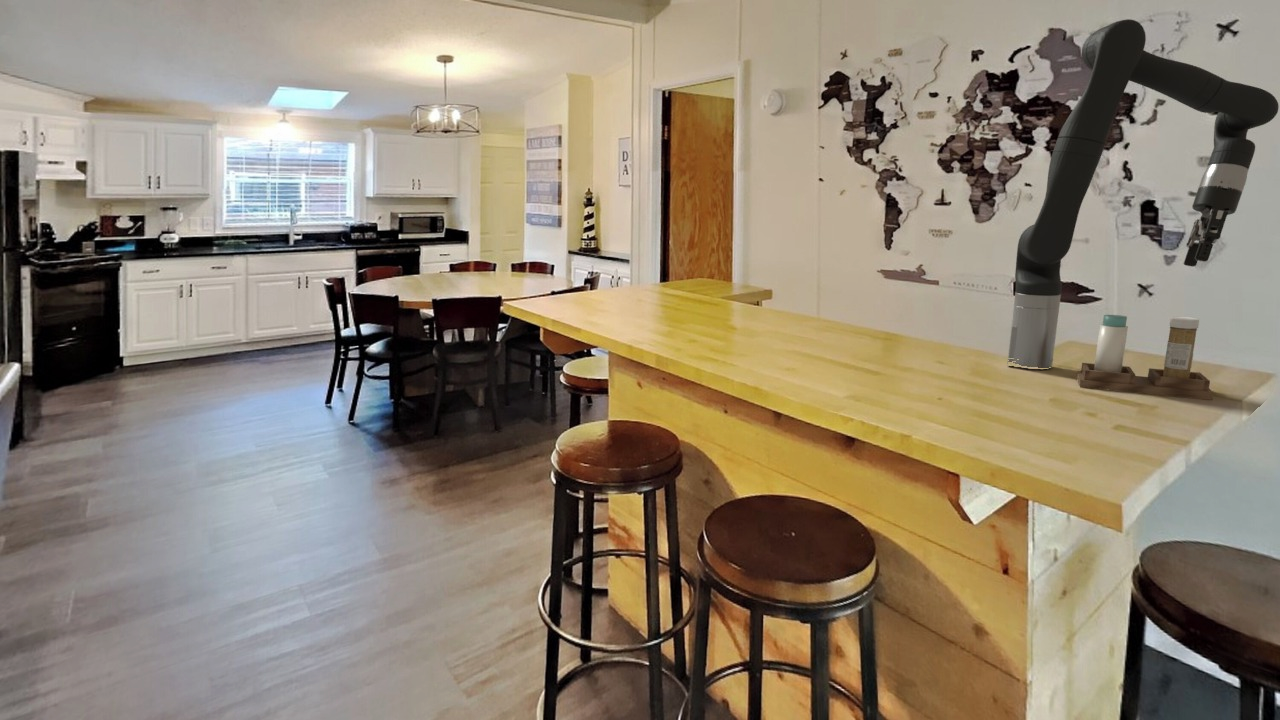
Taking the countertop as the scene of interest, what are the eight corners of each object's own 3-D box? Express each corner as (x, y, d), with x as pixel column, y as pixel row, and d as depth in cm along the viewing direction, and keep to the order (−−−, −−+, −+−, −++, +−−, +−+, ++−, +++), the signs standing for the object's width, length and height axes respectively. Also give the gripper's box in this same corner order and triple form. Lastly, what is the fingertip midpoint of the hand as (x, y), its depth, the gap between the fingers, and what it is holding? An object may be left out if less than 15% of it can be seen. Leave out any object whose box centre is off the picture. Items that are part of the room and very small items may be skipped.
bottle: (1094, 378, 147) (1102, 316, 144) (1092, 373, 151) (1100, 313, 148) (1121, 380, 145) (1130, 318, 142) (1118, 376, 149) (1127, 315, 146)
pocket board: (1079, 387, 146) (1081, 370, 145) (1076, 377, 155) (1078, 361, 154) (1212, 400, 136) (1215, 382, 135) (1200, 388, 145) (1203, 372, 144)
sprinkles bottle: (1192, 383, 142) (1203, 318, 139) (1183, 386, 140) (1194, 320, 137) (1166, 379, 146) (1176, 315, 143) (1156, 382, 143) (1166, 317, 141)
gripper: (1190, 193, 158) (1166, 263, 160) (1209, 178, 145) (1183, 255, 147) (1230, 199, 155) (1205, 271, 157) (1254, 184, 142) (1226, 262, 144)
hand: (1194, 263), depth 152 cm, fingers open, 8 cm apart
